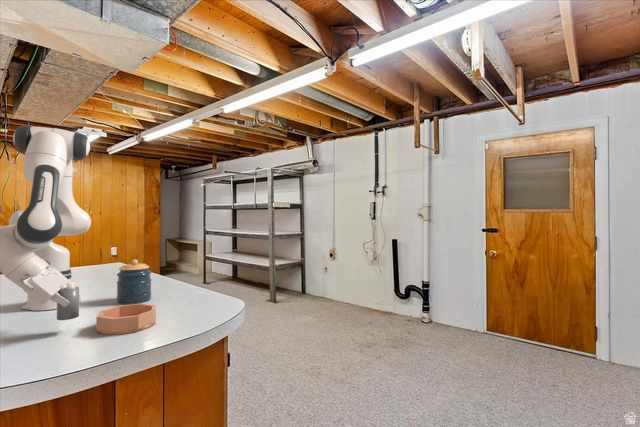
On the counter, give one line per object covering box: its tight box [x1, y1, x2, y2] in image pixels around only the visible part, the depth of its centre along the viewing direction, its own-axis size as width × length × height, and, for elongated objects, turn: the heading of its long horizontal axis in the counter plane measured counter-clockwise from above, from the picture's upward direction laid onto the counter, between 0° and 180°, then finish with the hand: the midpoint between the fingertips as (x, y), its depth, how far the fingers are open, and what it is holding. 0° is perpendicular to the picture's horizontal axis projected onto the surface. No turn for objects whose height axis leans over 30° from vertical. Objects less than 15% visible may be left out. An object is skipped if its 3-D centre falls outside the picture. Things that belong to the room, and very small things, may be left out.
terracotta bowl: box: [95, 303, 157, 336], centre depth 109 cm, size 16×16×5 cm
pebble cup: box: [56, 282, 80, 321], centre depth 103 cm, size 6×6×10 cm
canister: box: [116, 259, 153, 305], centre depth 141 cm, size 13×13×18 cm
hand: (70, 301), depth 103 cm, fingers closed on pebble cup, 5 cm apart
